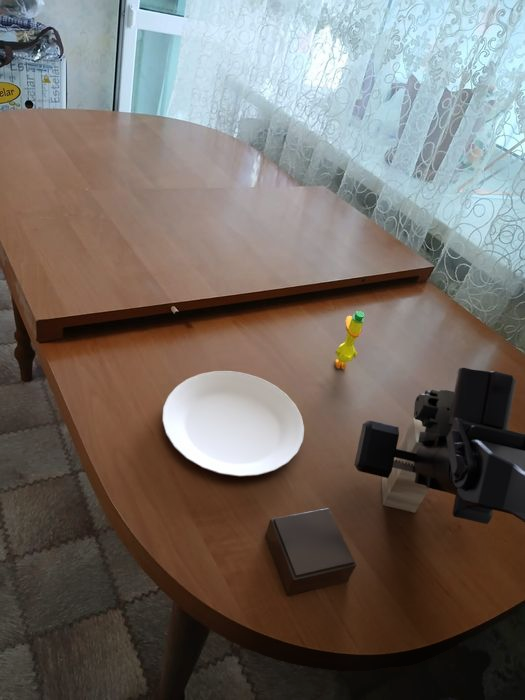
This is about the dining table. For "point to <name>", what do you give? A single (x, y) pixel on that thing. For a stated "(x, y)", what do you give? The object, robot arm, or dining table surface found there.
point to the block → (405, 475)
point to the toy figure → (350, 339)
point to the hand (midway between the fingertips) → (413, 457)
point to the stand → (309, 551)
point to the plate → (233, 423)
